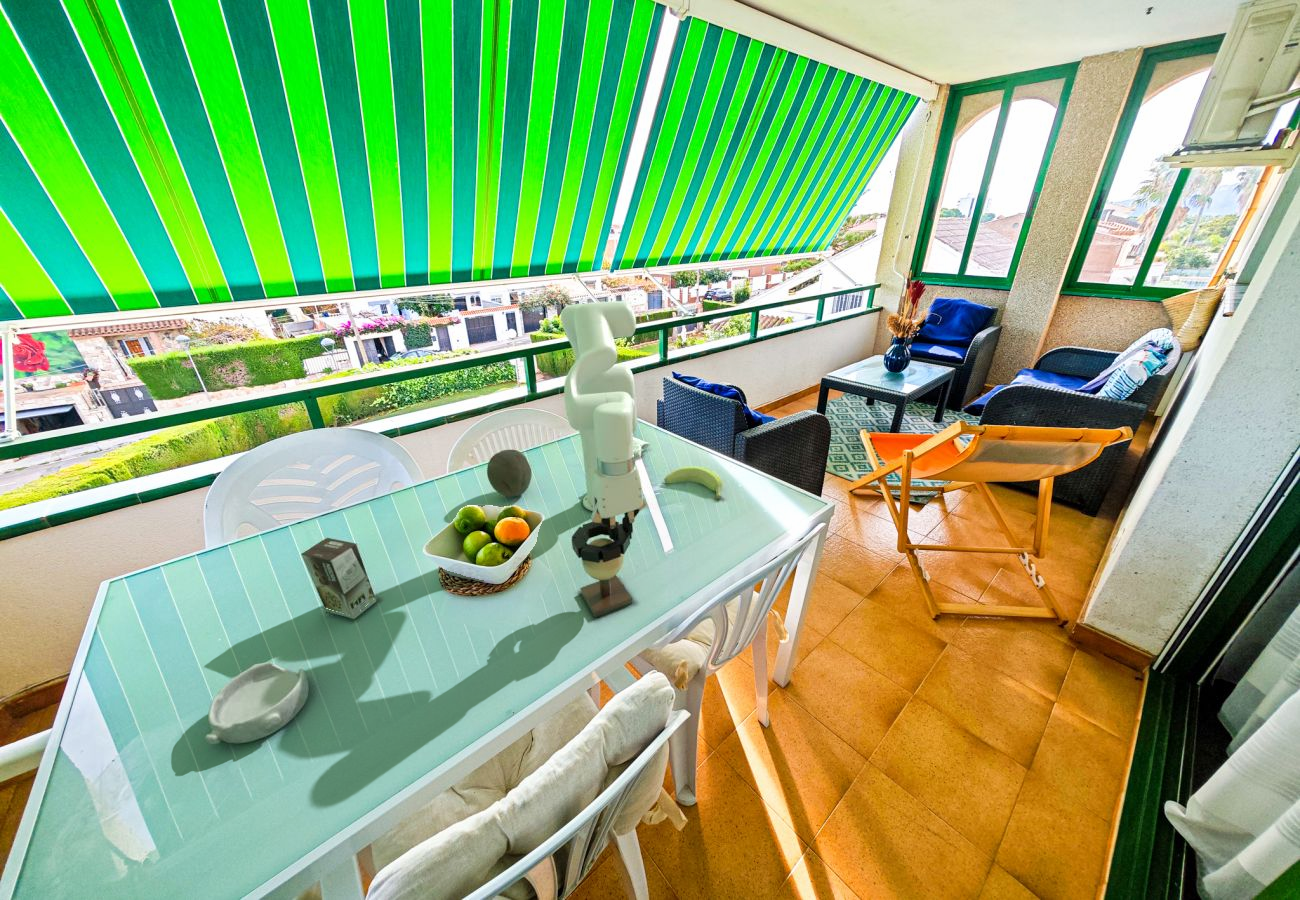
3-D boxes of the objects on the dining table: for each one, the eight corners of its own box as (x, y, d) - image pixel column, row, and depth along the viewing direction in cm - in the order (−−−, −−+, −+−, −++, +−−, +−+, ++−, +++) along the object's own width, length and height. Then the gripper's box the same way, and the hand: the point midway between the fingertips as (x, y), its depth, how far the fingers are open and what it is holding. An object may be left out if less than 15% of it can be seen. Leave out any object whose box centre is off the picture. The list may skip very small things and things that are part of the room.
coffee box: (378, 600, 106) (357, 543, 100) (353, 620, 101) (330, 561, 94) (349, 592, 109) (327, 536, 103) (324, 611, 104) (299, 553, 97)
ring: (566, 538, 101) (565, 529, 100) (615, 523, 106) (614, 514, 105) (585, 569, 92) (584, 559, 91) (638, 550, 96) (637, 541, 95)
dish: (253, 679, 88) (243, 660, 85) (328, 672, 88) (320, 654, 86) (190, 756, 74) (176, 736, 72) (280, 747, 75) (268, 727, 73)
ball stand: (580, 592, 107) (574, 537, 100) (616, 579, 110) (611, 525, 104) (595, 617, 99) (589, 560, 93) (632, 603, 103) (629, 546, 97)
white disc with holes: (655, 451, 178) (626, 463, 169) (625, 438, 190) (597, 449, 181) (655, 443, 176) (626, 454, 167) (625, 431, 188) (596, 441, 180)
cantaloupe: (544, 489, 152) (538, 448, 146) (511, 509, 142) (503, 465, 135) (514, 479, 159) (507, 440, 153) (481, 497, 149) (472, 456, 143)
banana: (693, 454, 157) (733, 482, 143) (695, 466, 160) (734, 495, 146) (661, 473, 152) (699, 505, 138) (664, 485, 155) (701, 517, 141)
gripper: (642, 448, 99) (645, 519, 107) (572, 465, 93) (580, 540, 101) (659, 461, 93) (661, 535, 101) (585, 480, 87) (593, 559, 94)
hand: (621, 537), depth 101 cm, fingers closed on ring, 2 cm apart
